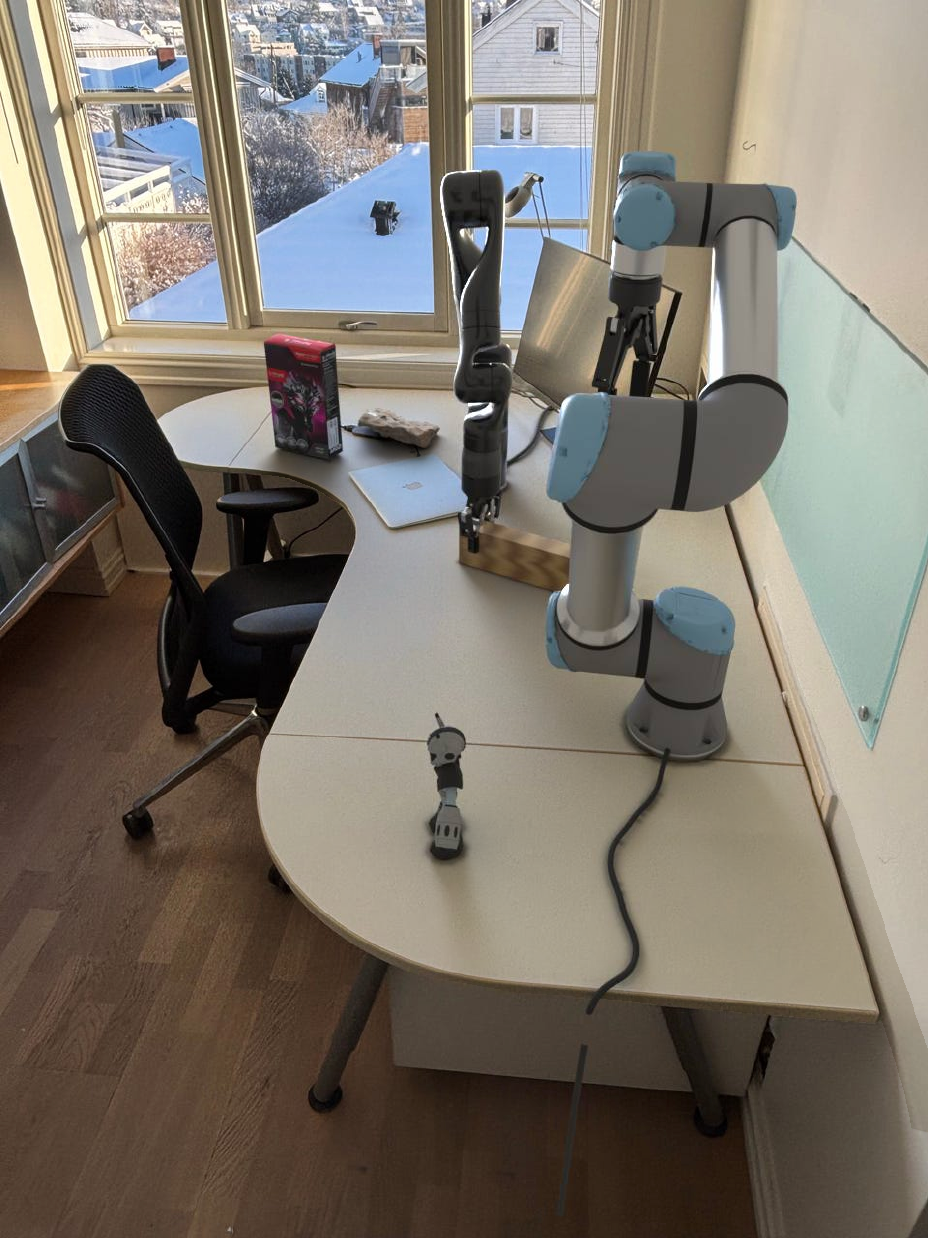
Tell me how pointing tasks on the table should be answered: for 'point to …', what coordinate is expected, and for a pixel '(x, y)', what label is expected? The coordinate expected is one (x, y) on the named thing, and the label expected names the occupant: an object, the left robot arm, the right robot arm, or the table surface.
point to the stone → (398, 427)
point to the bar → (519, 556)
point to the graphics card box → (304, 395)
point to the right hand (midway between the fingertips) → (621, 415)
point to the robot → (447, 789)
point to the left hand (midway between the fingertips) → (479, 546)
